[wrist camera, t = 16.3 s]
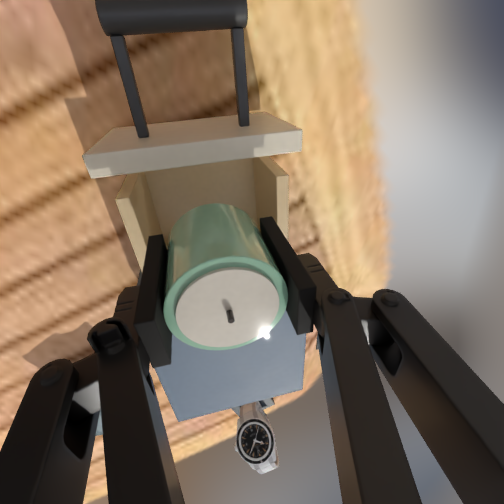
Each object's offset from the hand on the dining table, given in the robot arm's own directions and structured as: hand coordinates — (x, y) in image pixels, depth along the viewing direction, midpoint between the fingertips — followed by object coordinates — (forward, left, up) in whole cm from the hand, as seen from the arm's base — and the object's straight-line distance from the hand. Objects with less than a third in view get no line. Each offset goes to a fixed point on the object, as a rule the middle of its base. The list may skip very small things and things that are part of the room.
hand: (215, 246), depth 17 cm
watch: (+32, -4, -10) cm, 34 cm away
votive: (0, 0, 0) cm, 0 cm away
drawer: (-2, 0, -9) cm, 9 cm away
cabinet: (+12, -2, -10) cm, 15 cm away
